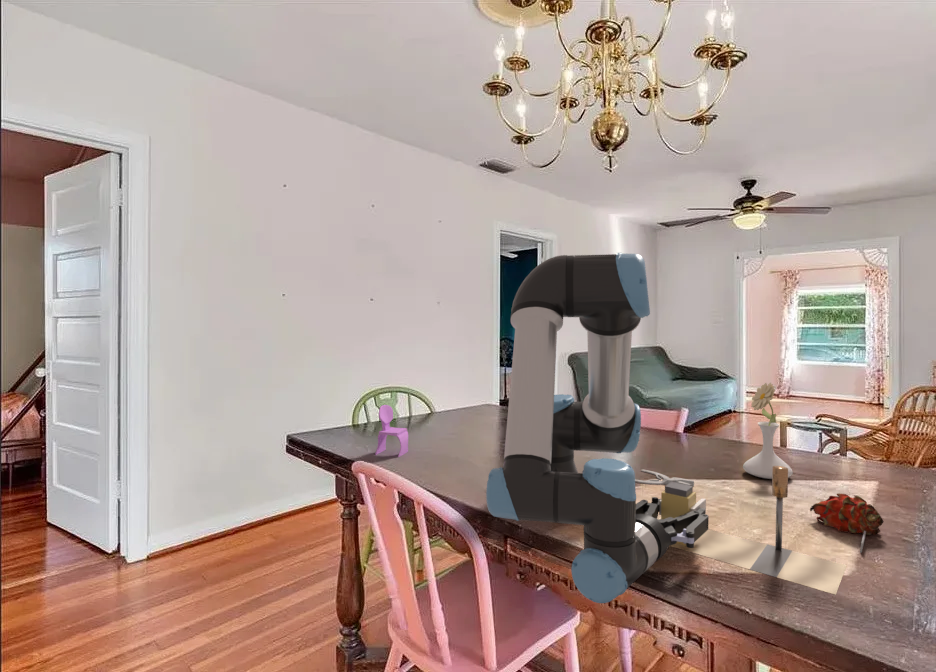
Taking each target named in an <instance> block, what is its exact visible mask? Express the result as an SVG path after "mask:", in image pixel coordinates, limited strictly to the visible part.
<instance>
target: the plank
mask: <svg viewBox="0 0 936 672" xmlns="http://www.w3.org/2000/svg"><path fill="white" fill-rule="evenodd" d="M657 519H661V516H659V517H657ZM669 547H672V548H676V549H678V550H682V551H685V552H689V553H692V554H696V555H699V556H701V557H706V558H709V559H712V560H716V561H719V562H723V563H726V564H730V565H732V566H736V567H738V568H739V567H740V568H743V569H746V570H750V571H753V572H756V573H761V574H764V575H766V576H771V577H773V578H777V579H780V580H785V581H788V582H790V583H794V584H798V585H800V586H801V585H802V586H804V587H808V588H810V589H813V590H818V591H821V592H825V593H828V594H831V595H835V596H836V595H837V592H838V590H839V588H840V587H839V586H840V585H841V581H842V579H843V576H844V574H845V571H846V568H847V564H845V563H842V562H837V561H833V560H829V559H826V558H822V557H818V556H815V555H810V554H806V553H803V552H799V551H795V550H791V549H787V548H783V547H782V550H781V551H778V550H776V549H775V545H772V544H769V543H764V542H761V541H757V540H753V539H749V538H744V537H741V536H737V535H734V534H730V533H725V532H722V531H718V530H714V529H710V528H708V530H707V531H706V532H705V533H704V534H703V535H702V536H701V537H700V538H699V539H698V540H696V541H695V542H694V548H688V547H686V546H684V545H681V544H677V543H676V544H674V545H670V546H669Z"/></svg>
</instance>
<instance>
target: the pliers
mask: <svg viewBox="0 0 936 672" xmlns="http://www.w3.org/2000/svg"><path fill="white" fill-rule="evenodd" d="M640 471H641V472H642V473H643V472H644V473H646V474H650V475H654V476H655V477H656V479H648V480H647V479H646V480H644V479H636V478H635V483H639V484H645V485H657V486H658V485H665V486H666V485H668V484H669V483H670V482H675V483H679V484H684V485H689V486H693V487H695V480H691V479H687V478H681V477H676V476H675V477H669V476H667V475H665V474H662V473H660V472H657V471H652V470H647V469H640Z"/></svg>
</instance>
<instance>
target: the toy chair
mask: <svg viewBox="0 0 936 672" xmlns="http://www.w3.org/2000/svg"><path fill="white" fill-rule="evenodd" d="M378 409H379V410H378V418H379V420H380V423H381V427H382V430H380V431H378V435H377V446H376V451H375V453H374V455H375V456H377V455H378V454H380V453H382V452H384V451H386V448H387V447H386V445H387V443H386V442H387V438H388V436H392V437H393V436H394V437H396V438H397V439H398V441H399V444H400V448H399V452H398V455H397V458H400V457H402V456H404V455H405V454H407V453H408V452H409V432H408V428H406V427H393V426H391V425H390V423H391V421H392V420H394V409H393V408H392V406H391V405H388V404H384V405H381V406H380V407H379V408H378Z"/></svg>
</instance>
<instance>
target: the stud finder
mask: <svg viewBox="0 0 936 672" xmlns="http://www.w3.org/2000/svg"><path fill="white" fill-rule="evenodd" d="M693 487H694V486H689V485H684V484H679V483H675V482H670V483H669V484H668V485H665V486H664V490H662V491H661V497H660V499H661V515H660V517H661V519H662V520H663V519H666V518H668V517H672V518H676V517H678V516H681V515H683V514H686V513H689V512H690V508H691V507H692V506H693V505H694V504H696V503H697V492H695V491H693V490H694V488H693ZM677 544H681V545H684V546H686V544H684V543H683V542H678V541H677Z"/></svg>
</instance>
